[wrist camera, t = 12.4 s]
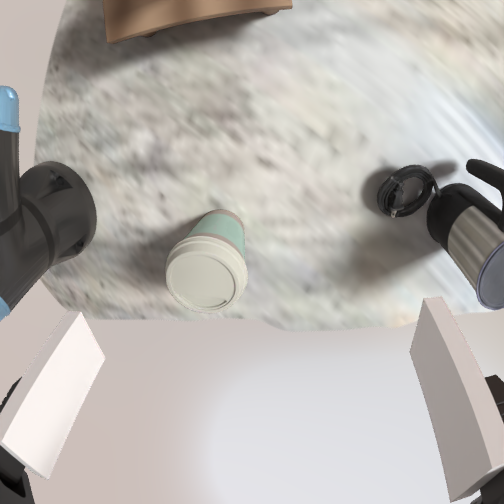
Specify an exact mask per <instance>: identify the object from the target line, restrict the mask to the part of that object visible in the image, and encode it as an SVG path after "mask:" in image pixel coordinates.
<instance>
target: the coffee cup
mask: <svg viewBox="0 0 504 504" xmlns="http://www.w3.org/2000/svg"><path fill="white" fill-rule="evenodd" d="M165 275H166V283H167V287H168V289H169V291H170V293H171V295H172V296H173V297H174V298H175V300H176V301H177V302H179V303H180V304H181V305H183V306H184V307H186V308H188V309H190V310H192V311H195V312H199V313H208V314H210V313H218V312H221V311H224V310H226V309H228V308H229V307H230V306H232V305H233V304H234V303H235V302H236V301H237V300H238V299H239V298H240V296H241V295H242V293H243V291H244V289H245V287H246V285H247V280H248V272H247V267H246V264H245V243H244V226H243V224H242V222H241V220H240V219H239V218H238V217H237V216H236V215H235V214H234V213H232V212H230V211H227V210H214V211H211V212H209V213H207V214H206V215H205V216H204V217H203V218H202V219H201V220H200V221H199V223H198V224H197V225H196V226H195V227H194V228H193V229H192V230H191V232H190V233H189V234H188V235H187V236H186V237H185V238H184V240H182V241H181V242H179V243H178V244H176V245H175V246H174V247H173V248H172V250H171V251H170V253H169V255H168V257H167V261H166V265H165Z"/></svg>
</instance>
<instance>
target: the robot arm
mask: <svg viewBox="0 0 504 504" xmlns="http://www.w3.org/2000/svg"><path fill="white" fill-rule="evenodd" d="M19 132H20V127H19V99H18V95H17V93H16V91H15V90H14V89H13V88H11V87H8V86H0V321H1V320H2V319H3V318H4V317H5V316H8V315H9V314H10V312H11V310H13V308H14V307H15V305H17V304H18V302H19V301H20V300H21V298H23V296H24V295H25V294H26V293H27V292H28V291H29V289H30V288H31V287H32V286H33V285H34V283H36V282H37V280H38V279H39V278H40V277H41V276H42V275H43V274H44V273H45V272H46V271H47V270H48V269H49V268H50V267H51V266H54V265H56V264H59V263H61V262H64V261H66V260H69V259H72V258H74V257H76V256H77V255H78V254H80V253H81V252H82V251H83V250H84V249H85V248H86V247H87V246H88V245H89V243H90V242H91V240H92V239H93V236H94V234H95V230H96V222H97V217H96V209H95V204H94V201H93V198H92V195H91V193H90V191H89V189H88V187H87V186H86V184H85V183H84V181H83V180H82V179H81V177H80V176H79V175H78V174H77V173H76V172H75V171H73V170H72V169H71V168H69V167H68V166H66V165H64V164H61V163H58V162H53V161H48V162H43V163H40V164H38V165H36V166H34V167H32V168H30V169H29V170H28V171H26V172H25V173H24V174H23V175H22V176H21V178H20V176H19ZM410 355H411V358H412V361H413V364H414V367H415V370H416V373H417V376H418V379H419V382H420V385H421V388H422V391H423V395H424V398H425V401H426V404H427V407H428V411H429V415H430V418H431V421H432V425H433V429H434V433H435V437H436V440H437V444H438V448H439V452H440V456H441V460H442V464H443V469H444V474H445V478H446V483H447V488H448V493H449V498H450V502H454V501H457V500H460V499H462V498H465V497H468V496H471V495H472V494H474V493H475V492H476V491H478V490H479V489H480V492H481V496H479V497H478V498H477V499H475V500H474V501H472V502H471V504H504V382H503V381H502V380H501V379H500V378H499V377H498V376H497V375H493V376H489V377H485V378H484V376H483V374H482V372H481V370H480V368H479V365H478V363H477V361H476V359H475V357H474V355H473V353H472V351H471V349H470V347H469V345H468V343H467V341H466V339H465V337H464V335H463V333H462V332H461V330H460V328H459V326H458V324H457V322H456V320H455V319H454V317H453V315H452V313H451V311H450V310H449V308H448V306H447V304H446V303H445V301H444V299H443V297H442V296H440V297H432V298H424V299H423V303H422V307H421V311H420V315H419V319H418V324H417V327H416V331H415V335H414V338H413V342H412V345H411V349H410ZM104 360H105V356H104V355H103V353H102V351H101V349H100V348H99V346H98V344H97V342H96V340H95V338H94V336H93V334H92V332H91V330H90V328H89V326H88V324H87V323H86V320H85V318H84V316H83V314H82V312H81V311H67V313H66V314H65V315H64V317H63V318H62V320H61V321H60V322H59V324H58V325H57V326H56V328H55V329H54V331H53V332H52V334H51V335H50V337H49V338H48V339H47V341H46V342H45V344H44V345H43V347H42V348H41V349H40V351H39V352H38V354H37V355H36V357H35V358H34V360H33V362H32V363H31V364H30V366H29V367H28V369H27V371H26V372H25V374H24V375H23V377H21V378H20V379H19V380H18V381H17V382H15V383H14V384H13V385H12V387H11V389H10V390H9V392H8V393H7V397H5V398H4V400H3V402H2V405H0V504H35V503H34V499H33V495H32V491H31V487H30V483H29V479H28V475H27V473H26V472H25V471H24V468H25V467H27V468H28V469H29V470H30V471H32V472H33V473H34V474H36V475H38V476H40V477H43V478H45V479H47V480H49V478H50V475H51V473H52V470H53V468H54V466H55V463H56V461H57V459H58V456H59V453H60V452H61V449H62V447H63V445H64V442H65V440H66V438H67V436H68V433H69V431H70V429H71V427H72V425H73V423H74V421H75V418H76V416H77V414H78V412H79V410H80V408H81V405H82V404H83V402H84V399H85V397H86V395H87V393H88V391H89V389H90V387H91V385H92V383H93V381H94V379H95V377H96V375H97V373H98V371H99V369H100V367H101V366H102V364H103V361H104Z"/></svg>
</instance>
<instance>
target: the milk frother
mask: <svg viewBox="0 0 504 504" xmlns="http://www.w3.org/2000/svg"><path fill="white" fill-rule="evenodd" d="M466 170H467V171H468V172H469V173H470V174H472V175H474V176H475V177H477V178H479V179H481V180H483V181H484V182H486V183H488V184H490V185H491V186H493V187H495V188H497V189H498V190H499V191H500V193H501V196H502V201H503V206H502V211H501V210H500V209H498V208H497V207H496V206H495V205H493V204H492V203H491V202H490V201H488V200H487V199H486V198H485V197H483V196H482V195H481V194H480V193H479V192H477V191H476V190H474V189H473V188H472V187H470V186H468V185H466V184H462V183H457V184H451V185H449V186H447V187H445V188H444V189H442V190H441V191H440V190H439V188H438V186H437V183H436V181H435V179H434V177H433V176H432V174H431V172H430V171H429V170H428V169H427V168H425V167H423V166H421V165H409V166H406V167H403V168H401V169H399V170H398V171H396V172H395V173H393V174H392V175H391V176H390V177H389V178H388V179H387V180H386V181H385V182H384V183H383V184H382V186H381V188H380V189H379V192H378V196H377V203H378V206H379V208H380V210H381V211H382V212H383V213H384V214H386V215H389V216H391V217H392V218H394V217H404V216H408V215H410V214H413V213H414V212H415V211H417V210H418V209H419V208H420V207H422V206H423V205H424V204H425V202H426V201H427V200H428V198H429V196H430V194H431V191H432V188H433V186H434V189H435V192H436V194H437V195H436V196H435V197H434V199H433V200H432V202H431V204H430V207H429V210H428V214H427V227H428V231H429V233H430V235H431V236H432V238H433V239H434V240H435V241H437V242H438V243H440V244H441V246H442V247H443V248H444V249H445V250H446V251H447V253H448V254H449V255H450V257H451V258H452V259H453V260H454V262H455V263H456V265H457V266H458V267H459V269H460V270H461V271H462V273H463V274H464V276H465V277H466V278H467V280H468V281H469V283H470V284H471V285H472V287H473V288H474V290H475V291H476V294H477V298H478V301H479V302H480V304H481V305H482V306H484V307H485V308H488V309H491V310H499V309H502V308H504V170H503V169H501V168H499V167H497V166H494V165H492V164H490V163H487V162H485V161H482V160H478V159H470V160H468V162H467V164H466ZM411 177H418V178H420V179H422V180H423V183H424V187H423V190H422V193H421V194H420V196H419V197H418V198H417V199H416V200H415V201H414V202H413V203H411V204H410V205H408V206H406V207H404V206H403V204H402V195H403V189H402V187H403V185H404V183H403V181H404V180H406V179H408V178H411Z"/></svg>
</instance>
